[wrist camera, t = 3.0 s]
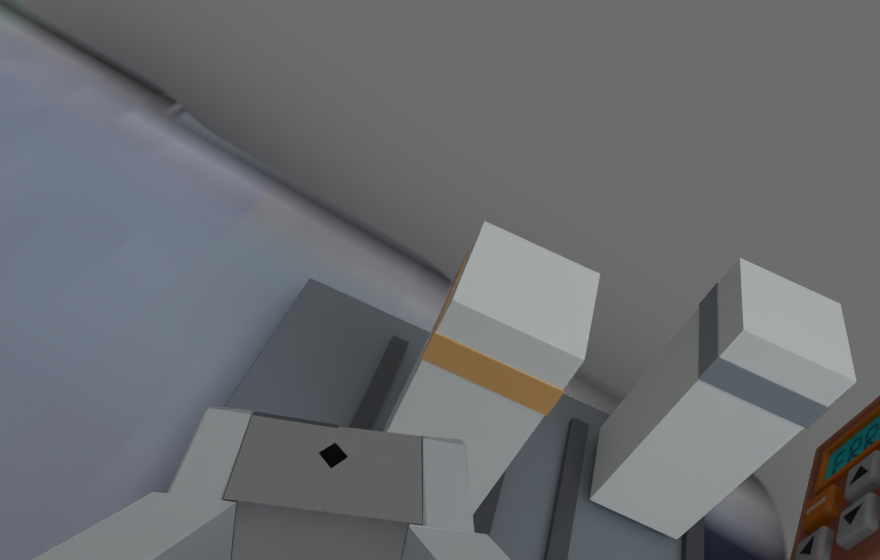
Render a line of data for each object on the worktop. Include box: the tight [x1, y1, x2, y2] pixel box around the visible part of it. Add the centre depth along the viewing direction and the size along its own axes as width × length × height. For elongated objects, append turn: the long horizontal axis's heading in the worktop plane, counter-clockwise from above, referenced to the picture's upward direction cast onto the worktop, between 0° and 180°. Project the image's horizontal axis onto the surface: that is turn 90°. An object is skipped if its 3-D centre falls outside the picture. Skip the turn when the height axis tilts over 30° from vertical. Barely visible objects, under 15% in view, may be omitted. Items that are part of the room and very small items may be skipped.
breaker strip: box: [225, 258, 856, 560], centre depth 28 cm, size 20×14×13 cm
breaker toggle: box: [383, 221, 600, 514], centre depth 26 cm, size 4×4×11 cm
